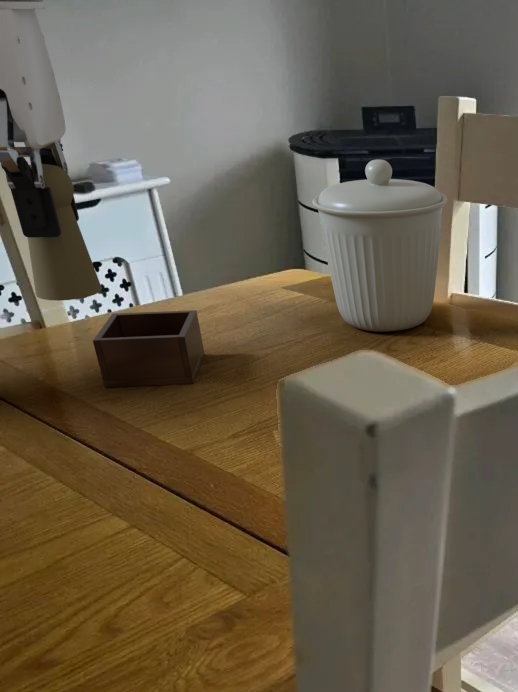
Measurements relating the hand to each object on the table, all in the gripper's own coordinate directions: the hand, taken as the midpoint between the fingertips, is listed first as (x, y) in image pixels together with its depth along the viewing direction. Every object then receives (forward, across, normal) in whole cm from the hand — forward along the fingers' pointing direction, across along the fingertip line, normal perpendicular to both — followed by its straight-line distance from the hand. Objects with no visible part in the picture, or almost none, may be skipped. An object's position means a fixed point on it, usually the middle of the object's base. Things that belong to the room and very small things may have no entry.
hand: (52, 226), depth 77 cm
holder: (+21, -19, +2) cm, 29 cm away
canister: (+21, -36, +32) cm, 52 cm away
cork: (+6, 0, 0) cm, 6 cm away
